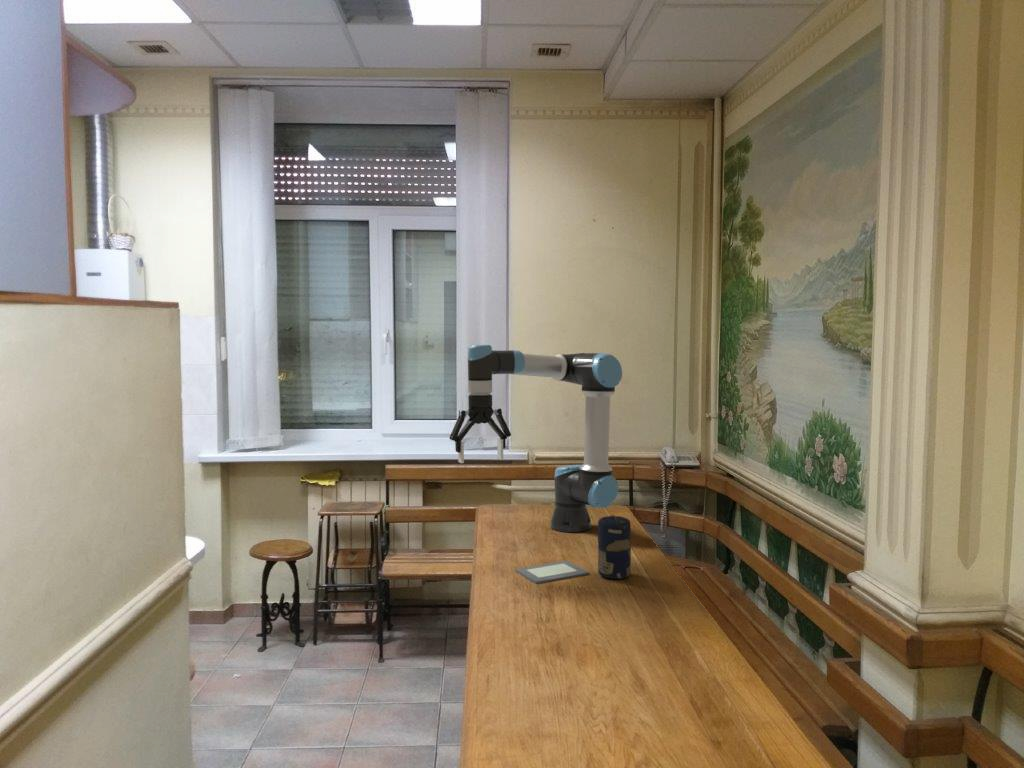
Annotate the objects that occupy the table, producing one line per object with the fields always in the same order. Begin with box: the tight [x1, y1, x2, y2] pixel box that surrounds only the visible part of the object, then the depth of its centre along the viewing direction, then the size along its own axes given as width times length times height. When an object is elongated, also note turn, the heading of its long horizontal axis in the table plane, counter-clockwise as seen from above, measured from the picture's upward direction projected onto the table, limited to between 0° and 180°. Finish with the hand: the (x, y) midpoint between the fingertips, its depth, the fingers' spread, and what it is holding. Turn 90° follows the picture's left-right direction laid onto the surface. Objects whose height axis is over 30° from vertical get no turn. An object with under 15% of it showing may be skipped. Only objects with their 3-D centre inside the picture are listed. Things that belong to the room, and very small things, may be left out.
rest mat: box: [514, 560, 590, 585], centre depth 217 cm, size 18×13×1 cm
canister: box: [597, 514, 632, 580], centre depth 213 cm, size 10×10×18 cm
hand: (481, 460), depth 229 cm, fingers open, 13 cm apart
